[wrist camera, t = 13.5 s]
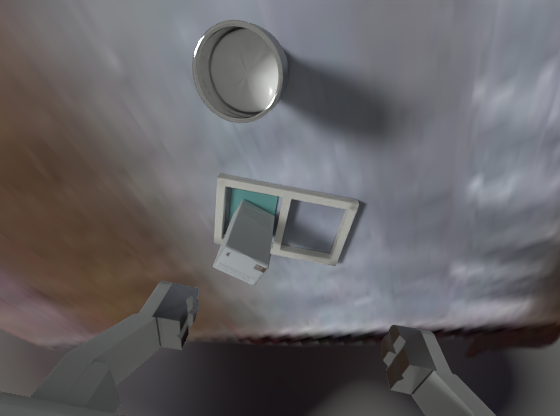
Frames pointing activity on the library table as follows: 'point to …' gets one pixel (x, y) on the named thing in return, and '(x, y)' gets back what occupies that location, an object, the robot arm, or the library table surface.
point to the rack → (281, 213)
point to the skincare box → (246, 243)
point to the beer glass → (240, 71)
